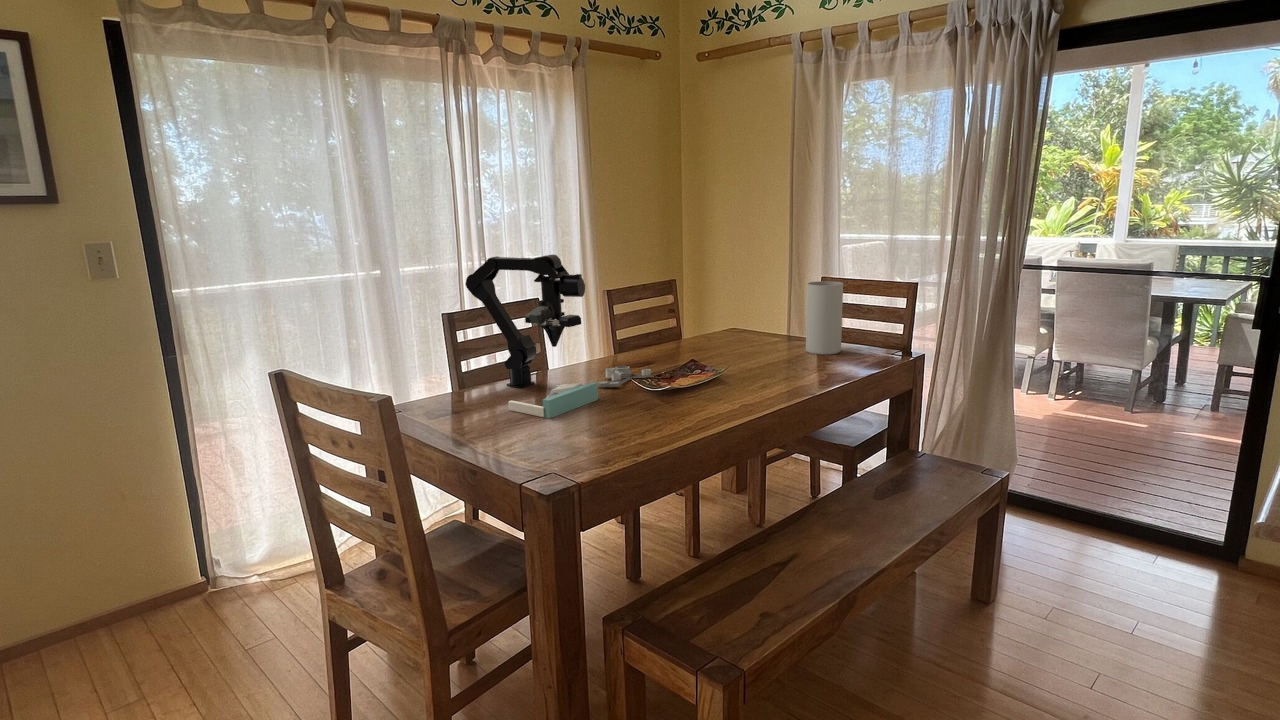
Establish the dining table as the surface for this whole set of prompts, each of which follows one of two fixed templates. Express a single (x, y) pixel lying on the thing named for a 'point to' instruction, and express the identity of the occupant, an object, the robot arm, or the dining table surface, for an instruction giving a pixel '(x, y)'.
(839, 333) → the cylinder vase
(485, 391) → the dining table surface
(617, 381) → the pulley system
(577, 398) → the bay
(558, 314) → the robot arm
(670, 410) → the dining table surface
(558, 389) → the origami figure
